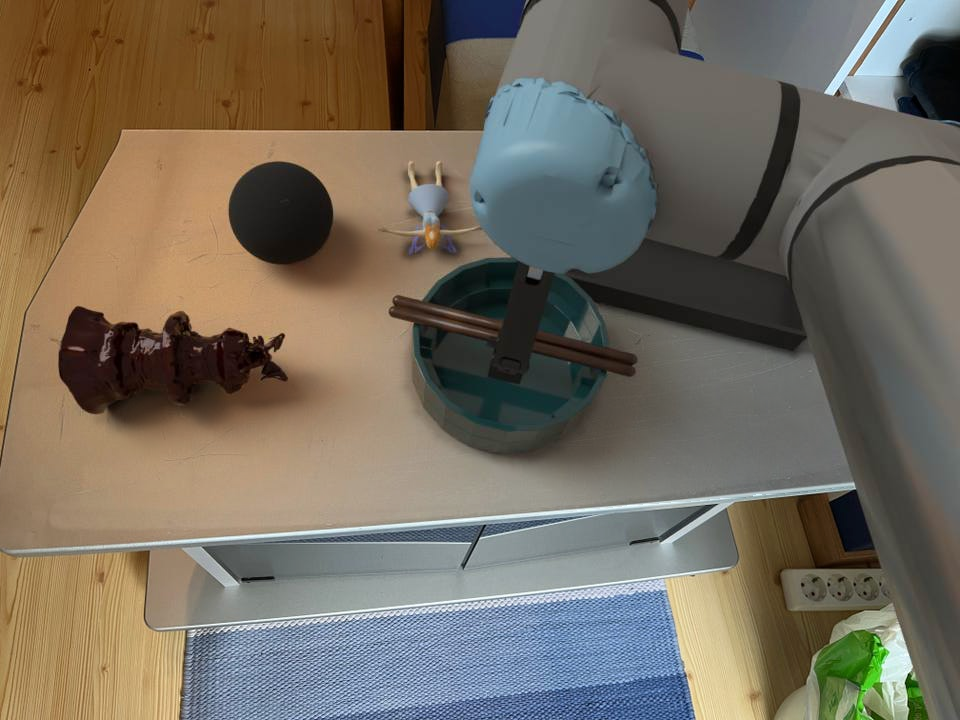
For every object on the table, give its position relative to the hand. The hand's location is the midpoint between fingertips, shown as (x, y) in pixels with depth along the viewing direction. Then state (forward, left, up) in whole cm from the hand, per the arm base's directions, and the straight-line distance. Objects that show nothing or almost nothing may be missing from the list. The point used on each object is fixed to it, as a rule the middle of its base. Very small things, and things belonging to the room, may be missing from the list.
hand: (520, 308), depth 64 cm
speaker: (+8, +25, -11) cm, 28 cm away
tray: (+16, -16, -11) cm, 25 cm away
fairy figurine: (+16, +12, -11) cm, 23 cm away
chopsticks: (0, 0, -5) cm, 5 cm away
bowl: (0, 0, -11) cm, 11 cm away
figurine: (-9, +28, -11) cm, 32 cm away
